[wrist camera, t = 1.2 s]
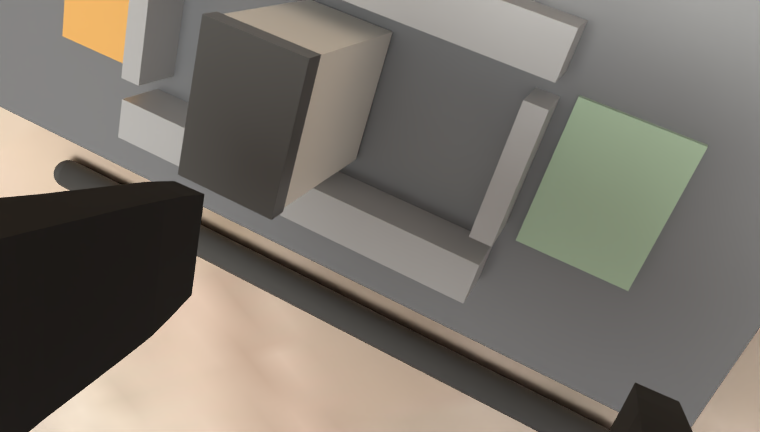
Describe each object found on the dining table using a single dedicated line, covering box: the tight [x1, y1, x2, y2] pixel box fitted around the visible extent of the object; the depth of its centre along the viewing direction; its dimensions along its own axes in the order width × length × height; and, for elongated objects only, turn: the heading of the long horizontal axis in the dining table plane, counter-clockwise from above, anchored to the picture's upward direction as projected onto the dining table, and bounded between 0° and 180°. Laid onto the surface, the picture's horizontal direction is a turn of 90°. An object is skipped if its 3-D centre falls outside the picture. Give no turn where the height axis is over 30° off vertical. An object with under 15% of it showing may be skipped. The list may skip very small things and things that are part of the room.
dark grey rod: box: [54, 160, 610, 432], centre depth 23 cm, size 21×1×1 cm, turn 73°
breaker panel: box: [0, 0, 760, 427], centre depth 18 cm, size 24×11×3 cm, turn 73°
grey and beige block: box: [178, 0, 392, 220], centre depth 16 cm, size 2×4×4 cm
